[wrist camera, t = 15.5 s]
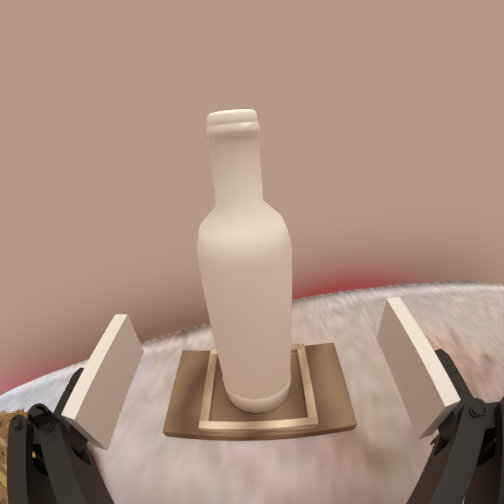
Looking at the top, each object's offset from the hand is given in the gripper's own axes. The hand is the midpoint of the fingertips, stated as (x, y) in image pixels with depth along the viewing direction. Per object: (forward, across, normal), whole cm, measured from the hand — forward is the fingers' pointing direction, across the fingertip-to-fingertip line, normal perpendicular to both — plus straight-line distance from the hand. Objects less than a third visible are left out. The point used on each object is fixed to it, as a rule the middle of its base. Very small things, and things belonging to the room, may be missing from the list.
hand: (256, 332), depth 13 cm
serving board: (+10, -1, -21) cm, 23 cm away
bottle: (+10, -1, -20) cm, 22 cm away
